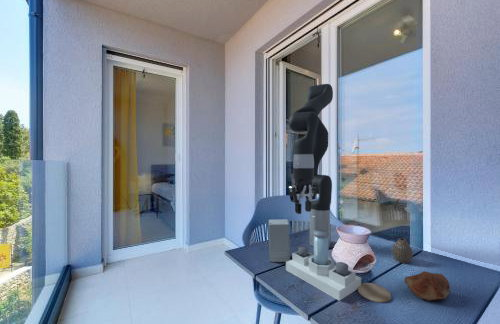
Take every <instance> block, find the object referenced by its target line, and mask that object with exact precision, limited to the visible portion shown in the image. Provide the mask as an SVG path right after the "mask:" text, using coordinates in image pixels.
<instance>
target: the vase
mask: <svg viewBox="0 0 500 324" xmlns="http://www.w3.org/2000/svg"><path fill="white" fill-rule="evenodd" d="M413 253H414V252H413V249H412V247H411V245H410V244H409V243H408V241H407V240H406V239H405V238H398V239H397V241H395V242H394V244H393V245H392V247H391V255H392V257H393V258H394V259H395V261H397V262H398V261H399V263H401V264H402V263H403V264H408V263H409V262H411V261H412V259H413V257H414V254H413Z"/></svg>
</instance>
